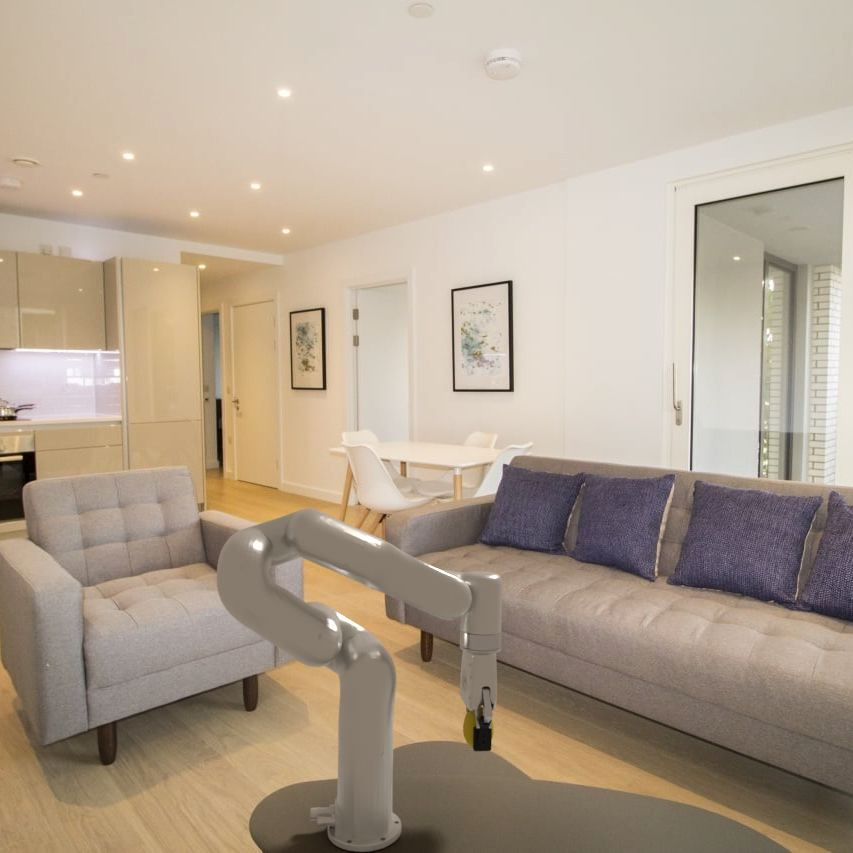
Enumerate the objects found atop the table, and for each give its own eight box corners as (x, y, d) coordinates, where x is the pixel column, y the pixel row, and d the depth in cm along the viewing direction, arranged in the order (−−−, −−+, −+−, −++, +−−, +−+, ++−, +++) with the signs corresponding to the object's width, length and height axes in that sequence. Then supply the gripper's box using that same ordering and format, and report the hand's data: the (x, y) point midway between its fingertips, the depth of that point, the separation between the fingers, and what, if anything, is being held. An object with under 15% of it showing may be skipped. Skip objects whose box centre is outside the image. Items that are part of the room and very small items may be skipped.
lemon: (491, 759, 112) (492, 712, 113) (460, 755, 113) (461, 708, 114) (494, 746, 118) (495, 701, 118) (464, 743, 119) (465, 698, 119)
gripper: (451, 629, 125) (448, 725, 123) (470, 653, 108) (467, 764, 106) (488, 629, 126) (486, 724, 125) (513, 653, 109) (511, 763, 108)
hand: (477, 742), depth 116 cm, fingers closed on lemon, 5 cm apart
